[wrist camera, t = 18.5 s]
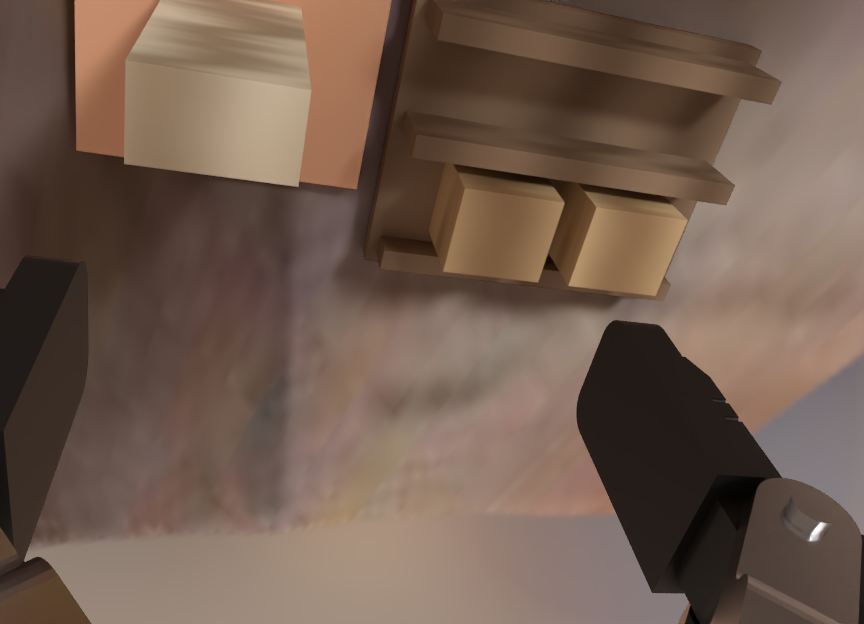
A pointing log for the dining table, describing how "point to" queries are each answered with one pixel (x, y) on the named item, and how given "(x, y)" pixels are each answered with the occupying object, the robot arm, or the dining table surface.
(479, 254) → the offcut
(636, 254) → the offcut
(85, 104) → the tile
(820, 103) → the dining table surface
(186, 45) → the long beige rectangular prism
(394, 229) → the rack
